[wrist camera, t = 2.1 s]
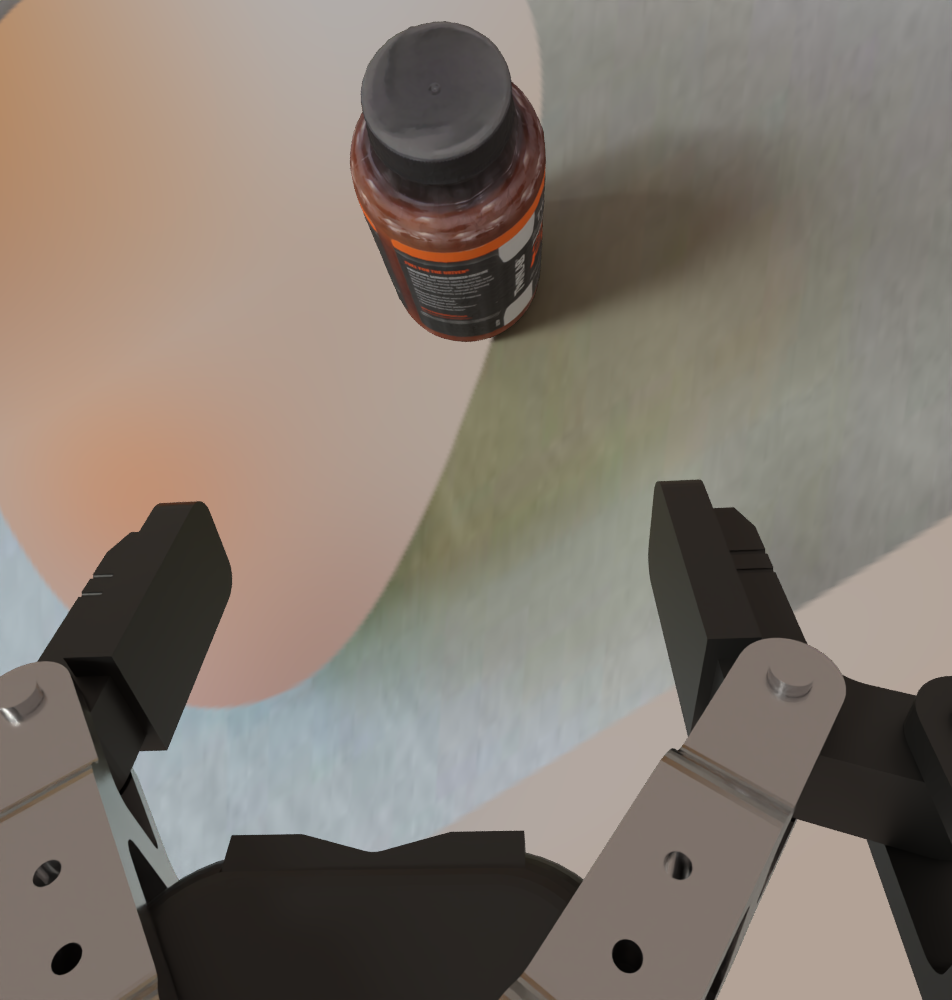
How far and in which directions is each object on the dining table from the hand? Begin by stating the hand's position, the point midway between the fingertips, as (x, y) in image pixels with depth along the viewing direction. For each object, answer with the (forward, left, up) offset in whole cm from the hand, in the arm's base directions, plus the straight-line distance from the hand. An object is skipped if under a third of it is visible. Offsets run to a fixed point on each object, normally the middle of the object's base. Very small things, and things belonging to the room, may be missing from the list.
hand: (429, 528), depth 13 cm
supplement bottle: (0, +12, -16) cm, 19 cm away
